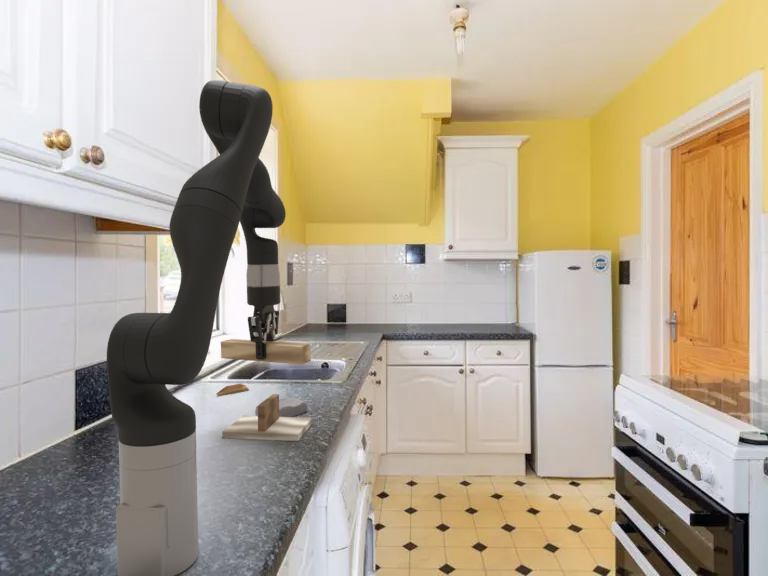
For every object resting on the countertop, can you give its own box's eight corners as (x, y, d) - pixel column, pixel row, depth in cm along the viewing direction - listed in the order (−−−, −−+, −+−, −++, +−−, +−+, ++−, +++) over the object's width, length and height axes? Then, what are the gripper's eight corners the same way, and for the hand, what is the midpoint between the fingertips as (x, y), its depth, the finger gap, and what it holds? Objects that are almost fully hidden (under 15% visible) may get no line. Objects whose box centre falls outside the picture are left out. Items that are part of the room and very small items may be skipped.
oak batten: (301, 364, 105) (301, 346, 105) (221, 358, 113) (220, 341, 113) (310, 360, 109) (310, 343, 109) (232, 354, 117) (231, 338, 117)
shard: (216, 398, 145) (216, 392, 145) (206, 393, 151) (206, 388, 151) (249, 392, 152) (249, 386, 152) (239, 387, 158) (239, 382, 158)
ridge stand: (298, 441, 107) (297, 408, 107) (222, 438, 110) (221, 405, 109) (312, 423, 119) (311, 394, 119) (243, 421, 121) (243, 392, 121)
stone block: (251, 424, 125) (276, 424, 120) (249, 406, 126) (274, 404, 120) (285, 414, 135) (310, 413, 129) (283, 397, 135) (308, 396, 130)
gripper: (267, 286, 103) (269, 364, 104) (289, 282, 117) (290, 351, 118) (234, 286, 103) (237, 363, 105) (259, 282, 118) (261, 350, 119)
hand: (265, 356), depth 111 cm, fingers closed on oak batten, 4 cm apart
